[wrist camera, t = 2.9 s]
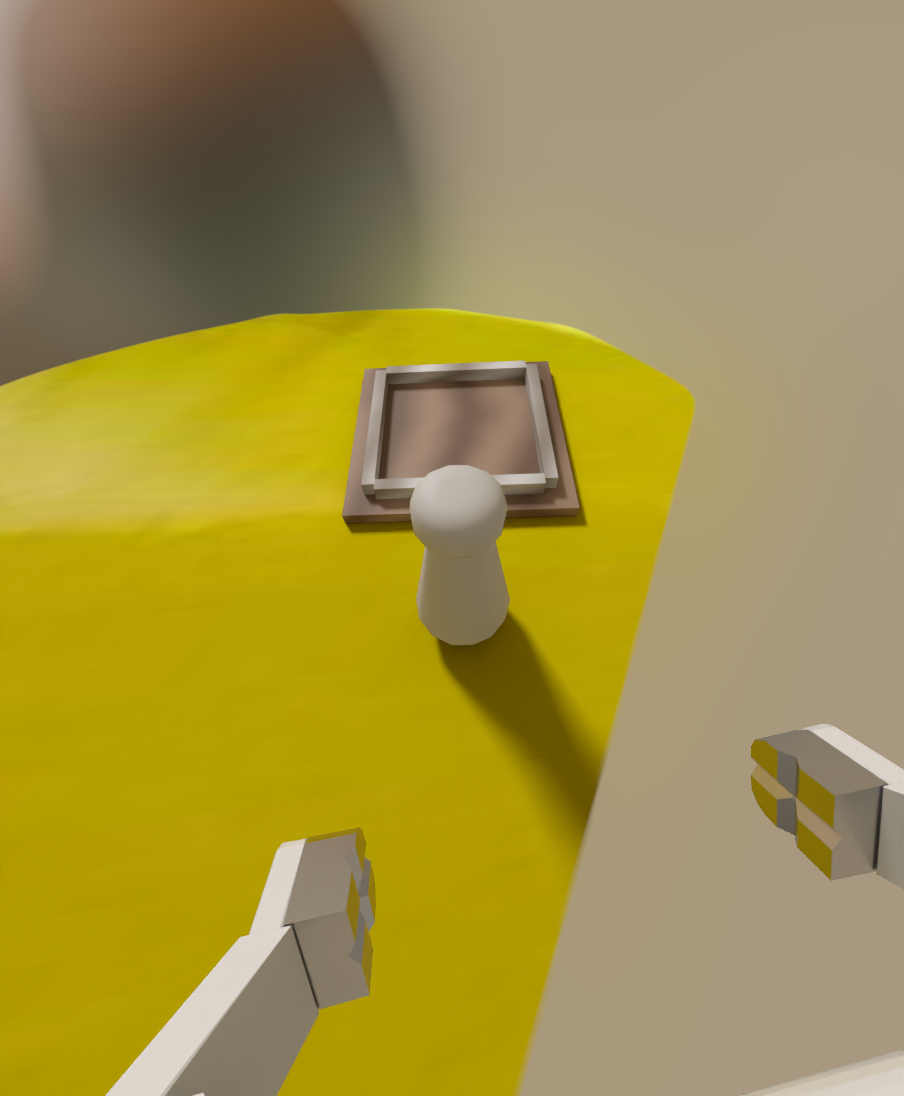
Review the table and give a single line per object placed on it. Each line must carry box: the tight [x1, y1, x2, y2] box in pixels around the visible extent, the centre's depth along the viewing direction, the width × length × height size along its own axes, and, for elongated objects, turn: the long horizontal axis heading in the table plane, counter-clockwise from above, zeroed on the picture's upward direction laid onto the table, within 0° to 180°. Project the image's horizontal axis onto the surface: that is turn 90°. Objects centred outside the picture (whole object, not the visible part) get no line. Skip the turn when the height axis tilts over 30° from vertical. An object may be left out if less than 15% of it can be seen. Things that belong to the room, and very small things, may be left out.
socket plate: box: [342, 361, 580, 523], centre depth 37 cm, size 18×18×2 cm
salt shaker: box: [410, 465, 510, 645], centre depth 23 cm, size 6×6×13 cm
